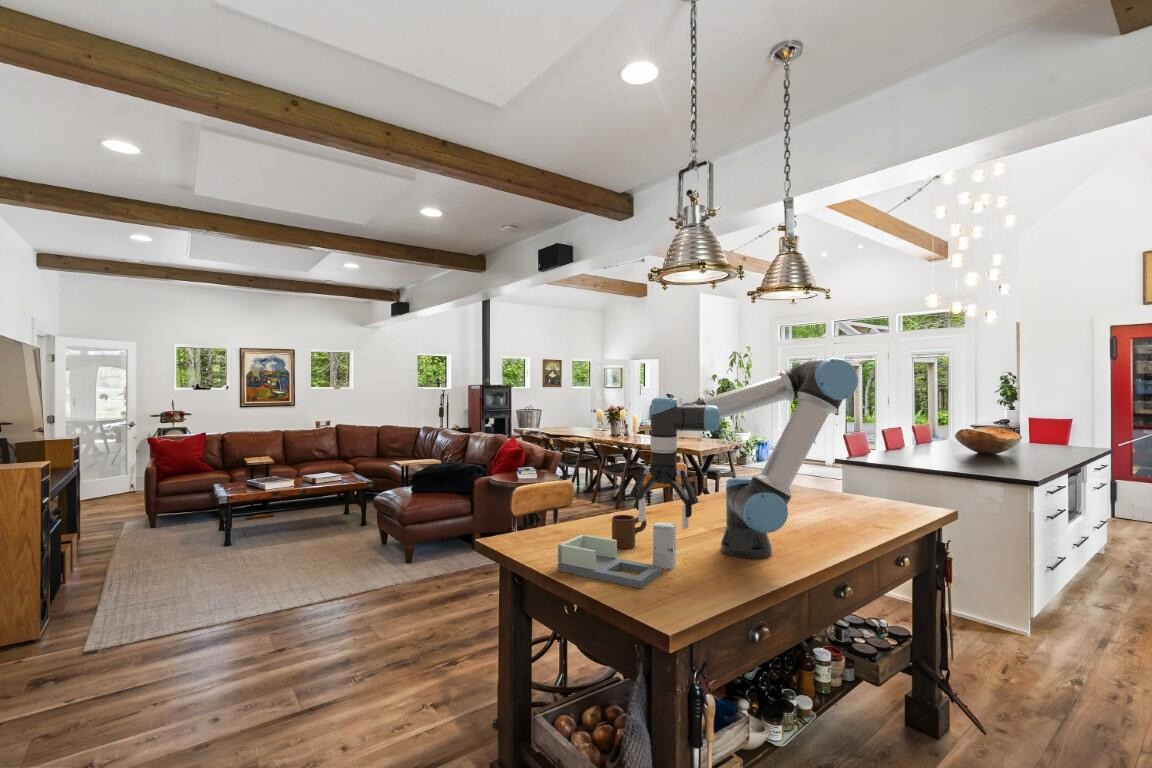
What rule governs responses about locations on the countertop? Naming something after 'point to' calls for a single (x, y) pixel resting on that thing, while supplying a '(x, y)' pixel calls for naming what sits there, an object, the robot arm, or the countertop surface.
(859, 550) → the countertop surface
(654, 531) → the skincare box
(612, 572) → the board
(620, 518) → the mug
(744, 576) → the countertop surface
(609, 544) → the housing
